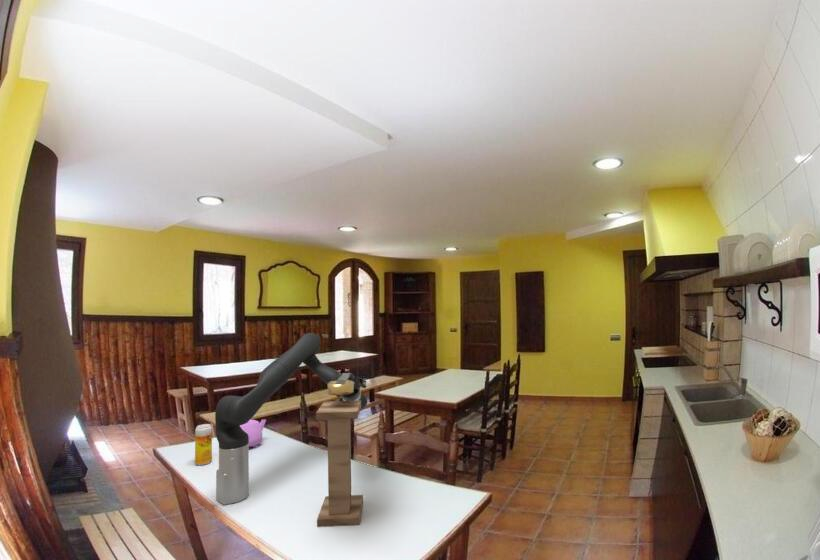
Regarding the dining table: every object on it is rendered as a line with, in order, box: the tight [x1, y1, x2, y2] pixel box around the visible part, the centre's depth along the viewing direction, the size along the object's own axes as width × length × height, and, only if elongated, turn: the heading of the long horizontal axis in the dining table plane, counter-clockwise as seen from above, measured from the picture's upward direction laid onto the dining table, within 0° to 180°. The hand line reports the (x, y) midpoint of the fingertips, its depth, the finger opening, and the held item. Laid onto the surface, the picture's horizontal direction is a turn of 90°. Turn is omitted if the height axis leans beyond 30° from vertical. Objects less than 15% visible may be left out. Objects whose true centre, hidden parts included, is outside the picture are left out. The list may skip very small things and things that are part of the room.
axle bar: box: [327, 372, 353, 396], centre depth 134 cm, size 21×8×3 cm, turn 2°
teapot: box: [240, 418, 267, 448], centre depth 184 cm, size 20×12×13 cm, turn 141°
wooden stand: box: [315, 400, 364, 528], centre depth 124 cm, size 14×12×32 cm
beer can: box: [194, 423, 213, 466], centre depth 166 cm, size 6×6×15 cm
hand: (345, 375), depth 139 cm, fingers closed on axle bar, 3 cm apart
